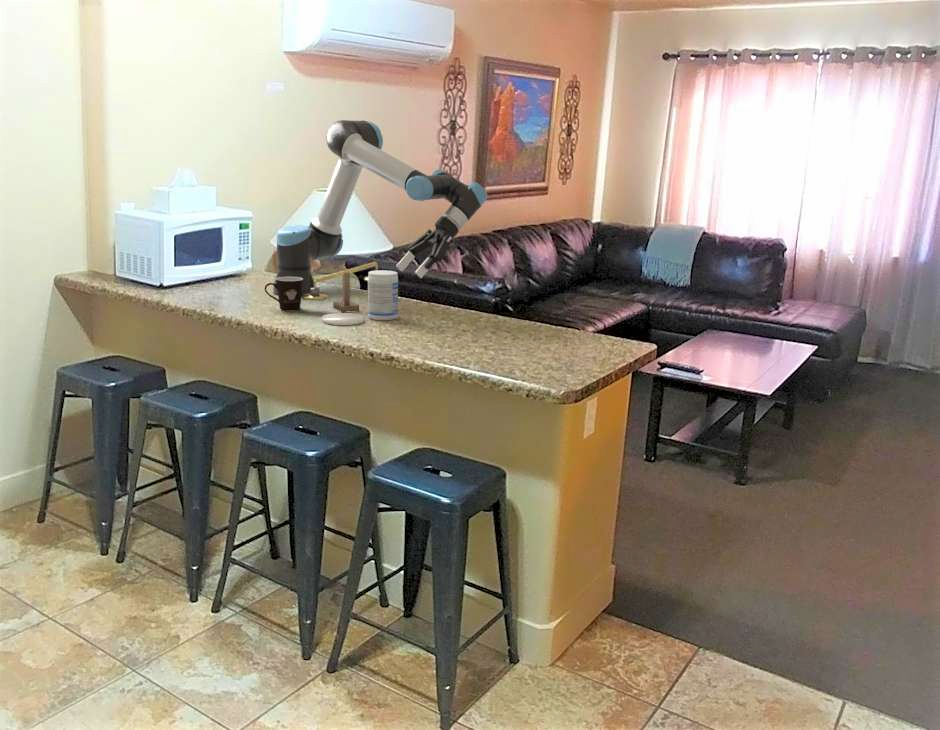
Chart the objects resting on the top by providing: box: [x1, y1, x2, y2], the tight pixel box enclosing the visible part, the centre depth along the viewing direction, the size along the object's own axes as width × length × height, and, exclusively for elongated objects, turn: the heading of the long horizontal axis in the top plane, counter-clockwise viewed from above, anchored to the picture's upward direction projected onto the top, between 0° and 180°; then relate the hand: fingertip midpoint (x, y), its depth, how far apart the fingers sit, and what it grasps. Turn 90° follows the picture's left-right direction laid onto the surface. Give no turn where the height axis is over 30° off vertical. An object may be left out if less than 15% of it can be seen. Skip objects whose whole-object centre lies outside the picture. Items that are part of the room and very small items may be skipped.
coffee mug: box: [264, 277, 303, 312], centre depth 292 cm, size 12×9×10 cm
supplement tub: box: [367, 269, 399, 321], centre depth 283 cm, size 10×10×15 cm
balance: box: [301, 261, 379, 313], centre depth 293 cm, size 8×30×15 cm, turn 120°
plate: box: [321, 312, 365, 326], centre depth 278 cm, size 13×13×1 cm
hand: (408, 272), depth 284 cm, fingers open, 13 cm apart
